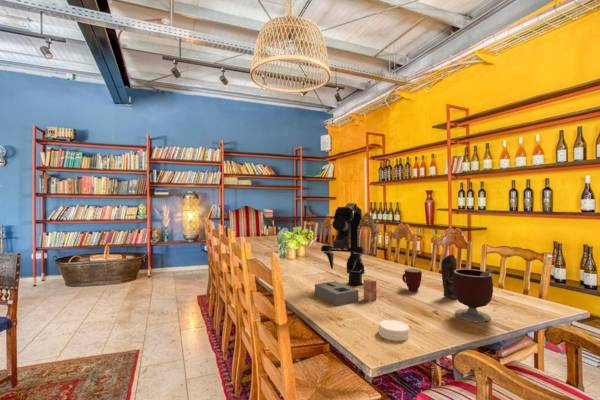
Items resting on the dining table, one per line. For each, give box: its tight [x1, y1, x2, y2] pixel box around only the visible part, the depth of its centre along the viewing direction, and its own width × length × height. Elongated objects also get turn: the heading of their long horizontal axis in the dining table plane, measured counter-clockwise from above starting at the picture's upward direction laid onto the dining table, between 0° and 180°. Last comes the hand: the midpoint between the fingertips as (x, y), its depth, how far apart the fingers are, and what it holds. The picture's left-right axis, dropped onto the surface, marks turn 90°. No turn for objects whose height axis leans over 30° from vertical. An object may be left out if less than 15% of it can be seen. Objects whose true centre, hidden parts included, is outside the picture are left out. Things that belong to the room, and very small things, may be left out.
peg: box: [363, 278, 377, 303], centre depth 142 cm, size 4×4×9 cm
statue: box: [440, 254, 457, 300], centre depth 145 cm, size 7×7×20 cm
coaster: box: [378, 319, 410, 342], centre depth 105 cm, size 10×10×4 cm
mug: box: [401, 268, 423, 292], centre depth 158 cm, size 11×8×10 cm
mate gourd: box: [453, 268, 496, 323], centre depth 120 cm, size 16×14×20 cm
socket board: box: [314, 280, 359, 307], centre depth 145 cm, size 12×18×5 cm, turn 29°
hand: (341, 269), depth 136 cm, fingers open, 9 cm apart
